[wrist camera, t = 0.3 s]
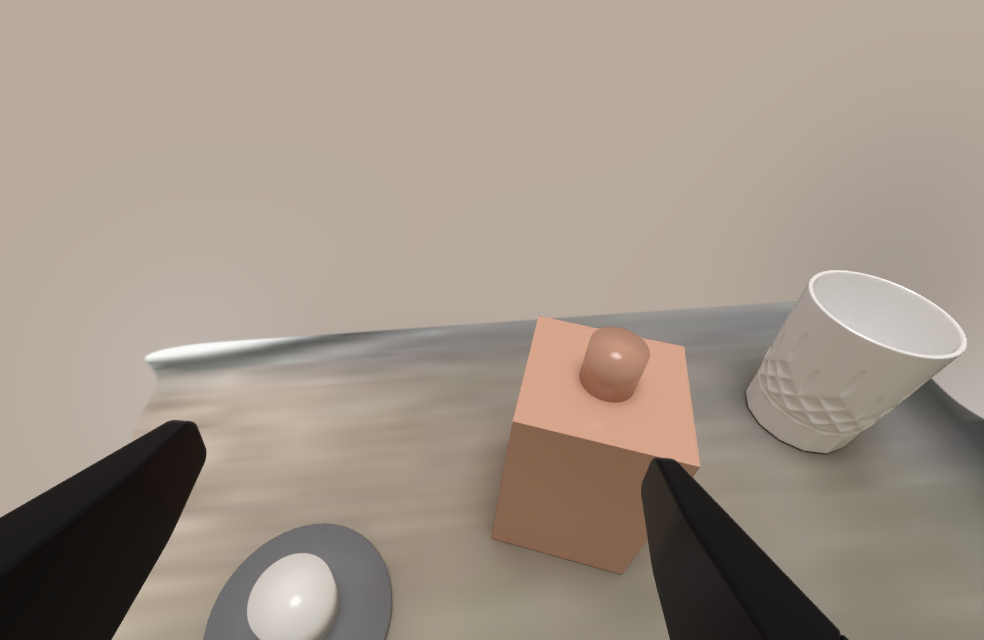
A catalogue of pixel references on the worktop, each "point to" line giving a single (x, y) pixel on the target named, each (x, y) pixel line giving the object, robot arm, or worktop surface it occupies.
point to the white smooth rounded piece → (294, 600)
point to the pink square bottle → (592, 441)
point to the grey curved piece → (351, 568)
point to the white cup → (849, 359)
